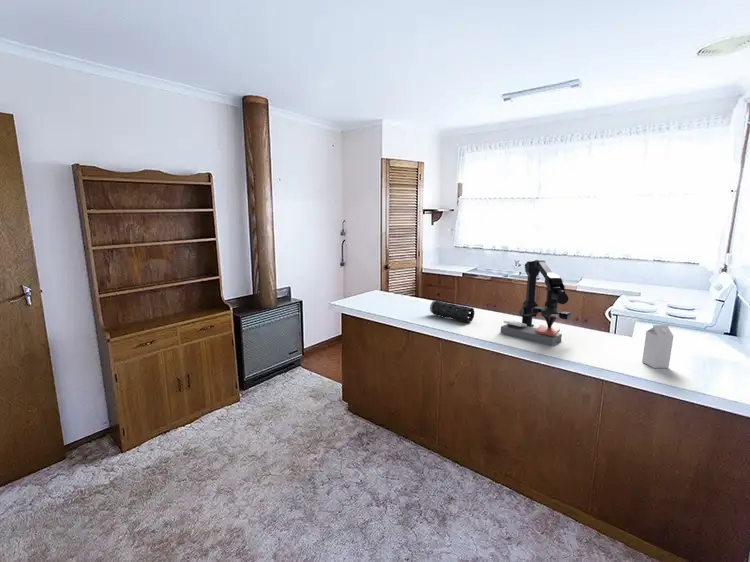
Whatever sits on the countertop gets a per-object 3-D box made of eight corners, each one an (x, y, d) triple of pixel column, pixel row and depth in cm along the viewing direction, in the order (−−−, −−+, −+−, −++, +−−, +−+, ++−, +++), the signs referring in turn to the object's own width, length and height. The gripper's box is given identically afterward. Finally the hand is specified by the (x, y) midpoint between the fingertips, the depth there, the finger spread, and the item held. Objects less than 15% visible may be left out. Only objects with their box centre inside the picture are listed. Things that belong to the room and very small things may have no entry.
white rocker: (509, 322, 226) (510, 320, 226) (526, 326, 219) (526, 324, 219) (503, 322, 220) (503, 320, 220) (520, 326, 213) (520, 324, 213)
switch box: (510, 329, 228) (510, 321, 228) (561, 340, 208) (561, 332, 207) (500, 333, 220) (500, 325, 219) (552, 346, 200) (553, 337, 199)
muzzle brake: (466, 325, 236) (467, 308, 234) (428, 316, 255) (429, 301, 253) (474, 322, 243) (475, 306, 241) (437, 313, 261) (437, 298, 260)
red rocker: (541, 326, 213) (541, 324, 213) (559, 331, 206) (559, 328, 206) (534, 332, 208) (534, 330, 208) (553, 336, 201) (553, 334, 200)
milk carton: (641, 362, 179) (647, 322, 176) (656, 362, 180) (661, 322, 177) (653, 368, 172) (660, 327, 169) (668, 368, 173) (675, 327, 170)
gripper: (528, 299, 207) (525, 327, 210) (564, 305, 194) (561, 335, 196) (537, 296, 215) (534, 323, 217) (572, 302, 202) (569, 331, 204)
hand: (549, 328), depth 209 cm, fingers closed, pressing on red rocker
